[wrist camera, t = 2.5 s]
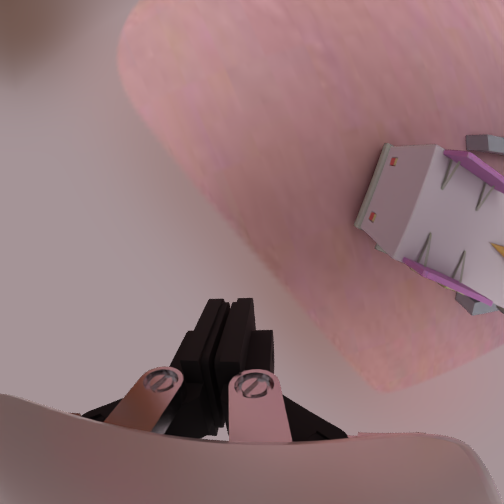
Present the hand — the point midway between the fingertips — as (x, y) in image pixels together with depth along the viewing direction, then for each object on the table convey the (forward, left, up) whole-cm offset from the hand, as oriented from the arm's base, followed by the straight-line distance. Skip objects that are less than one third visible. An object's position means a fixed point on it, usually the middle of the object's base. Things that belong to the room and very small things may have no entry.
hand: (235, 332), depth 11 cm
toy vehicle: (-18, 0, -18) cm, 25 cm away
